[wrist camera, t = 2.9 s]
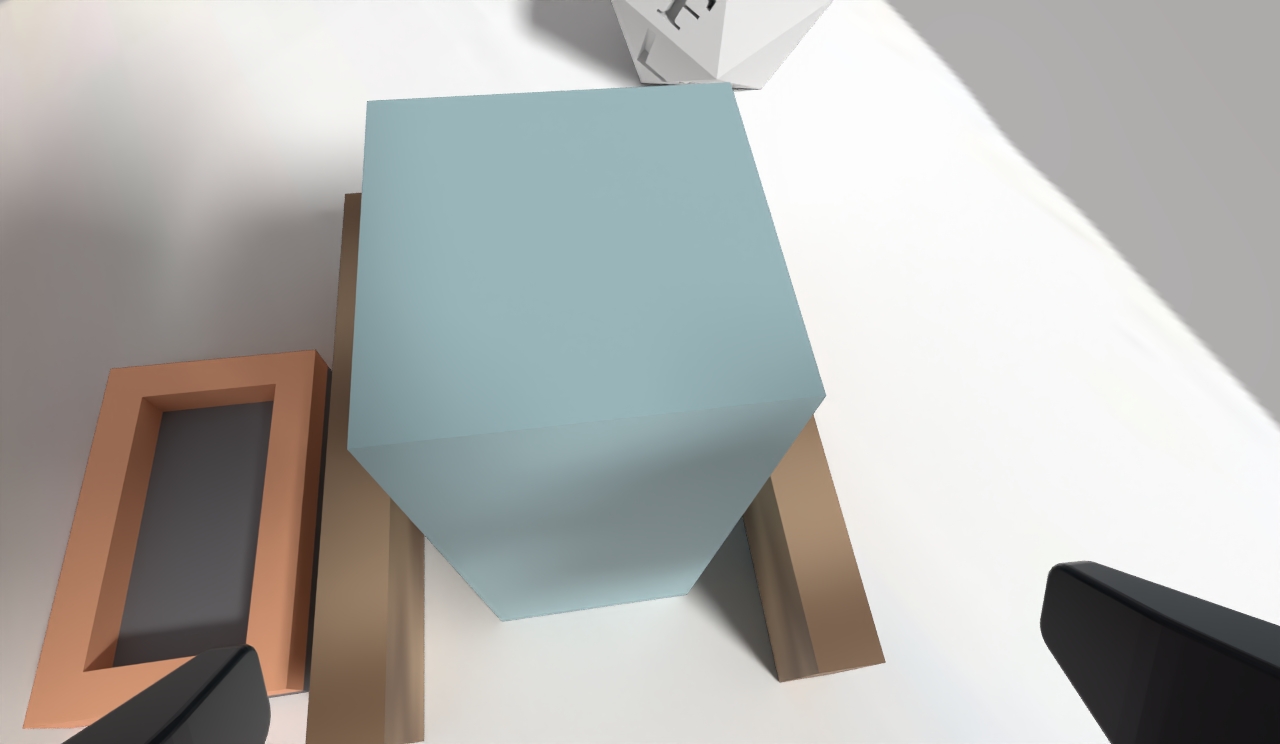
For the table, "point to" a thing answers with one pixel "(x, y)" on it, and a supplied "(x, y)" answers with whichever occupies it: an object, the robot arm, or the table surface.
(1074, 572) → the robot arm
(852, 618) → the channel
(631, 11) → the die
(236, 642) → the frame
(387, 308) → the block
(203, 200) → the table surface
